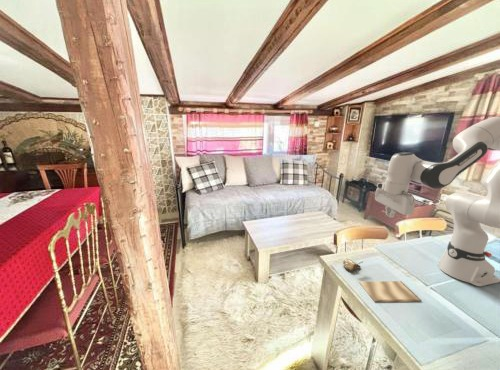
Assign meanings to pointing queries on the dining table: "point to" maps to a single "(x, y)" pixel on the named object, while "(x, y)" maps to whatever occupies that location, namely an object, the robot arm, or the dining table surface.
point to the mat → (389, 291)
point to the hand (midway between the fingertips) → (389, 216)
